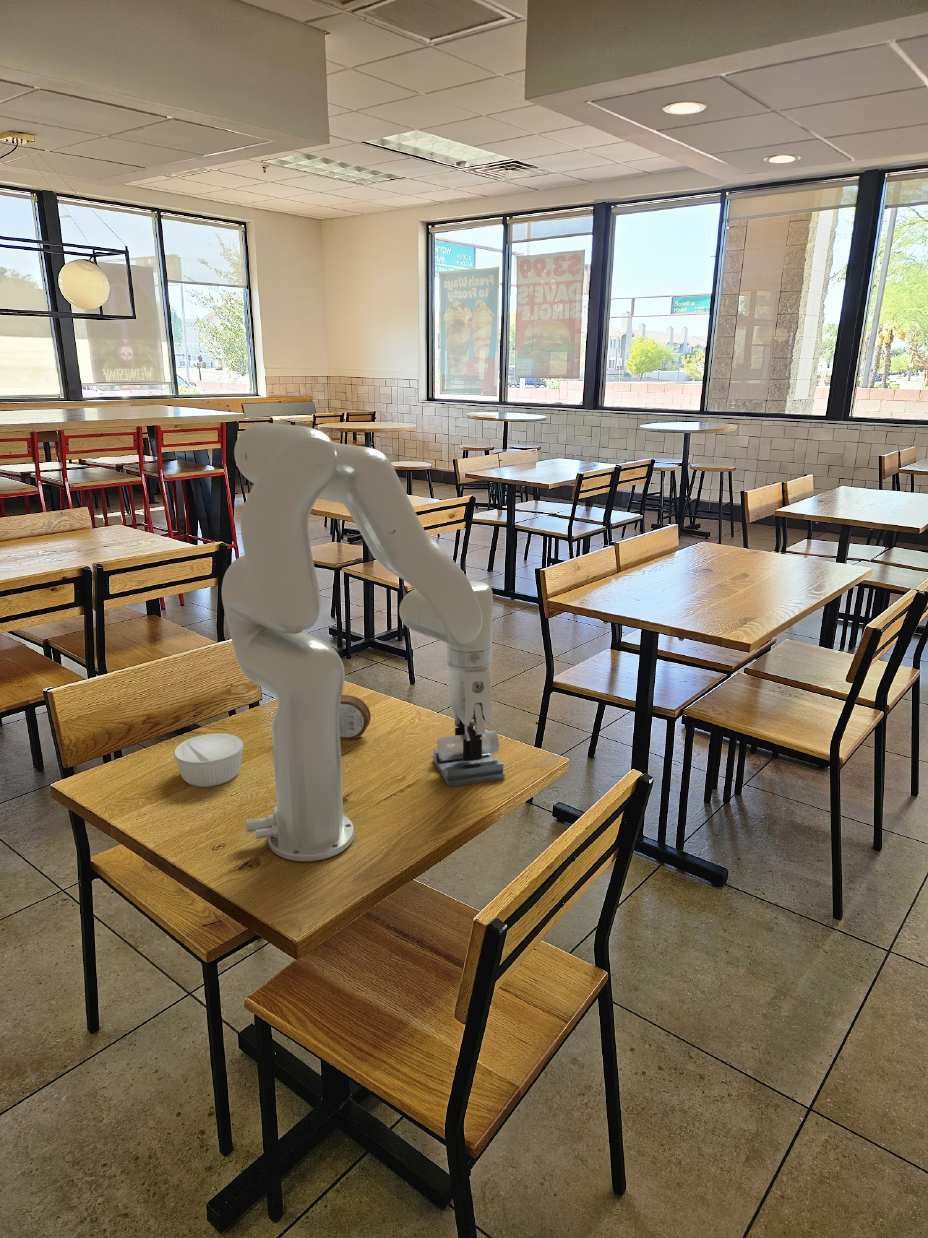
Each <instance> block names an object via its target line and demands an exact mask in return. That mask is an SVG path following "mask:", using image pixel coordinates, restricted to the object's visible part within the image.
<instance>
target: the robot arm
mask: <svg viewBox="0 0 928 1238" xmlns="http://www.w3.org/2000/svg"><path fill="white" fill-rule="evenodd" d="M233 455H234V461H235V464H236V467H237V468H238V470H239V472H240V473H241V474H242V475H243V477H244V478H246V480H248V481H249V482H251V483H252V484H253V486H252V487H251V489H250V492H249V493H248V496H247V497H246V500H245V502H244V504H243V507H242V511H241V512H242V513H241V516H240V535H241V541H242V546H243V547H242V548H243V552H244V554H243V555H241V556H239V557H238V558H236V559H235V560H233V562H231V564H230V565H229V566H228V567H227V569H226V571H225V573H224V574H223V575H224V576H223V578H222V584H221V601H222V606H223V610H224V614H225V618H226V622H227V626H228V630H229V635H230V637H231V638H230V639H231V642H232V646H233V649H234V653H235V657H236V660H237V663H238V665H239V667H240V669H241V670H242V673H243V674H244V675H245V676H246V678H247V679H249V680H250V681H251V682H253V683H254V684H256V685H258V686H260V687H262V688H263V689H265V690H266V691H268V692H270V693H271V694H273V695H275V696H276V698H277V708H276V711H275V715H274V717H273V721H272V729H271V730H272V731H271V736H272V738H271V740H272V751H273V752H272V753H273V764H274V765H273V766H274V778H275V779H274V780H275V782H274V783H275V796H276V806H274V807H273V813H272V814H267V817H261V818H251V819H246V820H245V828H246V833H247V834H251V833H255V840H261V839H266V838H268V846H269V848H270V849H271V851H272V852H273V853H274V854H275V855H277V856H279V857H281V858H282V859H286V860H288V861H295V862H316V861H322V860H325V859H326V860H327V859H328V858H331V857H334V856H337V855H339V854H340V853H341V852H343V851H345V850H346V849H348V848H349V846H351V844H352V842H353V840H354V838H355V825H354V823H353V822H352V820H350V817H349V818H348V817H347V816H346V815H344V806H343V805H344V804H343V803H344V802H343V801H344V800H343V779H342V778H343V777H342V753H341V751H342V747H341V739H340V703H341V696H342V695H343V690H344V684H345V668H344V667H345V666H344V664H343V663H344V662H343V661H342V659H341V657H340V655H339V653H338V652H337V651H336V650H335V649H334V648H333V647H332V646H331V645H330V644H328V643H326V642H325V641H323V640H321V639H320V638H317V637H315V636H312V635H310V634H308V633H305V632H307V631H309V630H310V629H311V628H312V627H314V626H315V624H316V623H317V622H318V620H319V617H320V615H321V608H322V605H321V603H322V602H321V592H320V589H319V583H318V579H317V574H316V568H315V563H314V559H313V555H312V548H311V542H310V535H309V522H310V516H311V512H312V510H313V507H314V506H315V503H316V502H317V500H323V501H329V502H332V503H338V504H341V505H343V506H344V507H345V508H346V510H347V512H348V513H349V515H350V517H351V518H352V520H353V523H354V524H355V526H356V528H357V529H358V531H359V533H360V534H361V536H362V538H363V541H364V542H365V544H366V546H367V547H368V550H369V552H370V553H371V555H372V556H373V558H374V559H375V560H376V561H377V562H378V563H379V564H381V565H382V566H383V567H384V568H385V569H386V570H388V571H389V572H390V573H392V574H393V575H395V576H397V577H398V578H399V579H401V580H403V581H404V582H406V583H407V584H409V585H410V587H411V586H412V587H413V588H414V589H413V590H411V591H409V592H408V593H406V594H405V595H404V597H402V600H401V602H400V603H399V608H398V609H399V611H398V612H399V613H398V614H399V617H400V620H401V622H402V623H403V625H404V626H405V627H407V628H408V629H409V630H411V631H413V632H415V633H417V634H421V635H424V637H425V636H426V637H428V638H432V639H435V640H438V641H440V642H443V643H445V644H446V665H447V666H448V667H450V670H449V671H450V672H449V704H450V707H451V709H452V710H453V713H454V714H455V716H454V736H455V735H463V734H465V739H463V760H464V761H465V762H467V761H474V760H480V759H481V758H482V739H483V736H482V735H483V734H485V732H486V729H485V724H484V723H486V724H491V723H492V721H493V696H492V695H493V694H492V693H493V692H492V680H491V673H490V667H491V666H492V659H493V657H492V654H493V652H492V651H493V646H492V644H493V607H494V606H493V605H494V603H493V602H494V600H493V599H494V597H493V595H494V593H493V590H492V588H491V586H490V585H489V584H487V583H485V582H482V581H477V580H476V581H475V580H469V579H468V577H467V575H466V573H464V571H463V570H462V569H461V567H460V566H459V564H457V563H456V562H455V561H454V560H453V559H452V557H451V556H449V554H448V553H447V552H446V551H445V550H444V549H443V547H441V546H440V544H439V543H438V542H437V541H435V539H434V538H432V536H430V535H429V534H428V533H427V531H426V530H425V529H424V527H423V525H422V523H421V521H420V519H419V518H418V515H417V512H416V511H415V509H414V508H415V507H413V505H412V503H411V500H410V499H409V497H408V494H407V492H406V490H405V489H404V486H403V484H402V481H401V480H400V478H399V476H398V473H397V472H396V469H395V467H394V466H393V464H392V463H391V461H390V459H389V458H388V457H387V456H386V455H385V453H383V452H381V451H380V450H378V449H375V448H372V447H367V446H361V445H353V444H346V443H345V444H343V443H337V442H333V440H332V439H331V438H330V437H329V435H327V434H326V433H324V432H322V431H320V430H318V429H315V428H313V427H309V426H304V425H303V426H301V425H296V424H283V423H272V422H271V423H270V422H260V423H259V422H258V423H255V424H252V425H250V426H249V427H247V428H246V429H244V430H243V431H242V432H241V433H240V435H239V436H238V437H237V440H236V442H235V446H234V450H233Z"/></svg>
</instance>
